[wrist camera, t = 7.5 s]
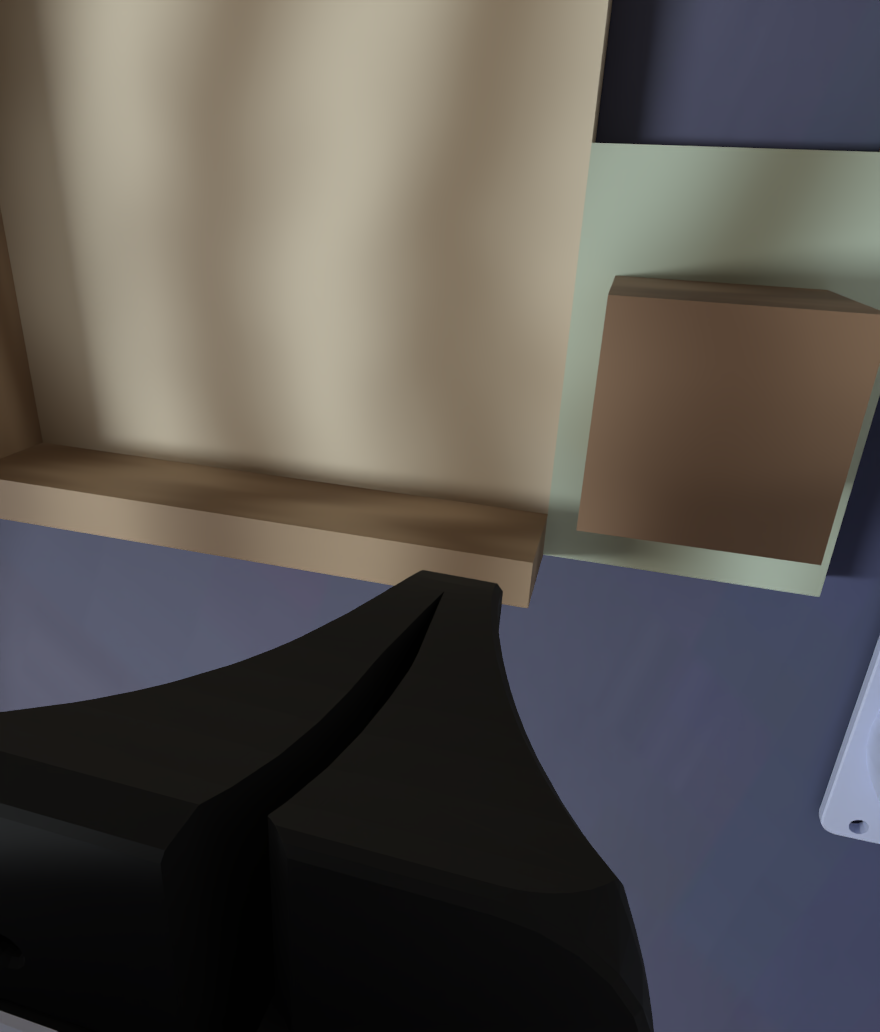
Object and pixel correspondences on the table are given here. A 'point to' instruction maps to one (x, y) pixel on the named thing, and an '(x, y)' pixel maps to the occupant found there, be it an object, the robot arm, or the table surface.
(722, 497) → the walnut block
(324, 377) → the cubby base
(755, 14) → the table surface
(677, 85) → the table surface
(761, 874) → the table surface
